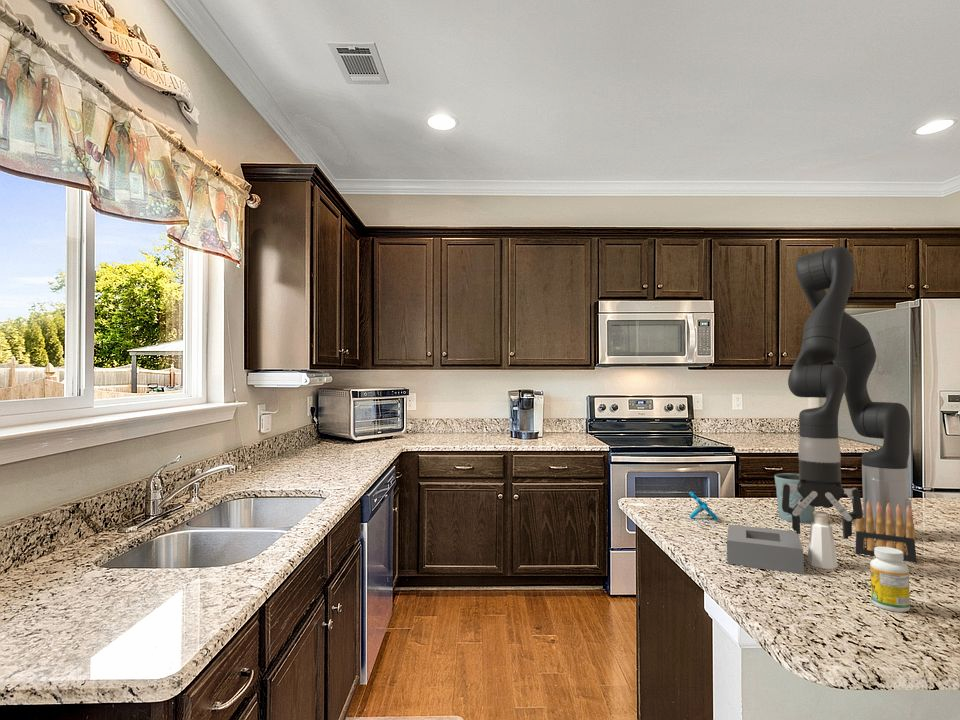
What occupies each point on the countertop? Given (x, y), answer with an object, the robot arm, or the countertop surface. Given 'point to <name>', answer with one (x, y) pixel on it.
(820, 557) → the pepper shaker
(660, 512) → the countertop surface
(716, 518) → the blue t-shaped piece
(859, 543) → the ammunition clip
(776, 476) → the blue cup
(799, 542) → the frame
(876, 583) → the supplement bottle
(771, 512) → the countertop surface
